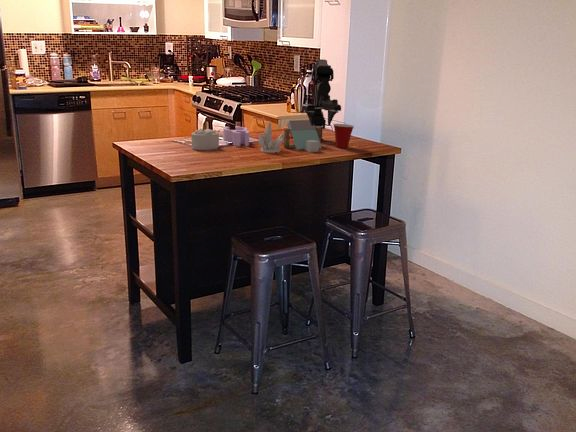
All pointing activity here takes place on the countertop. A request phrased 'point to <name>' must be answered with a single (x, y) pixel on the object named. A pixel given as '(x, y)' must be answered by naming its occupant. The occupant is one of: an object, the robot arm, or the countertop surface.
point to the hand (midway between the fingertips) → (320, 125)
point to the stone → (311, 146)
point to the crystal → (270, 141)
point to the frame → (287, 145)
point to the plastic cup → (342, 135)
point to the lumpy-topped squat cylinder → (205, 139)
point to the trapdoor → (302, 132)
